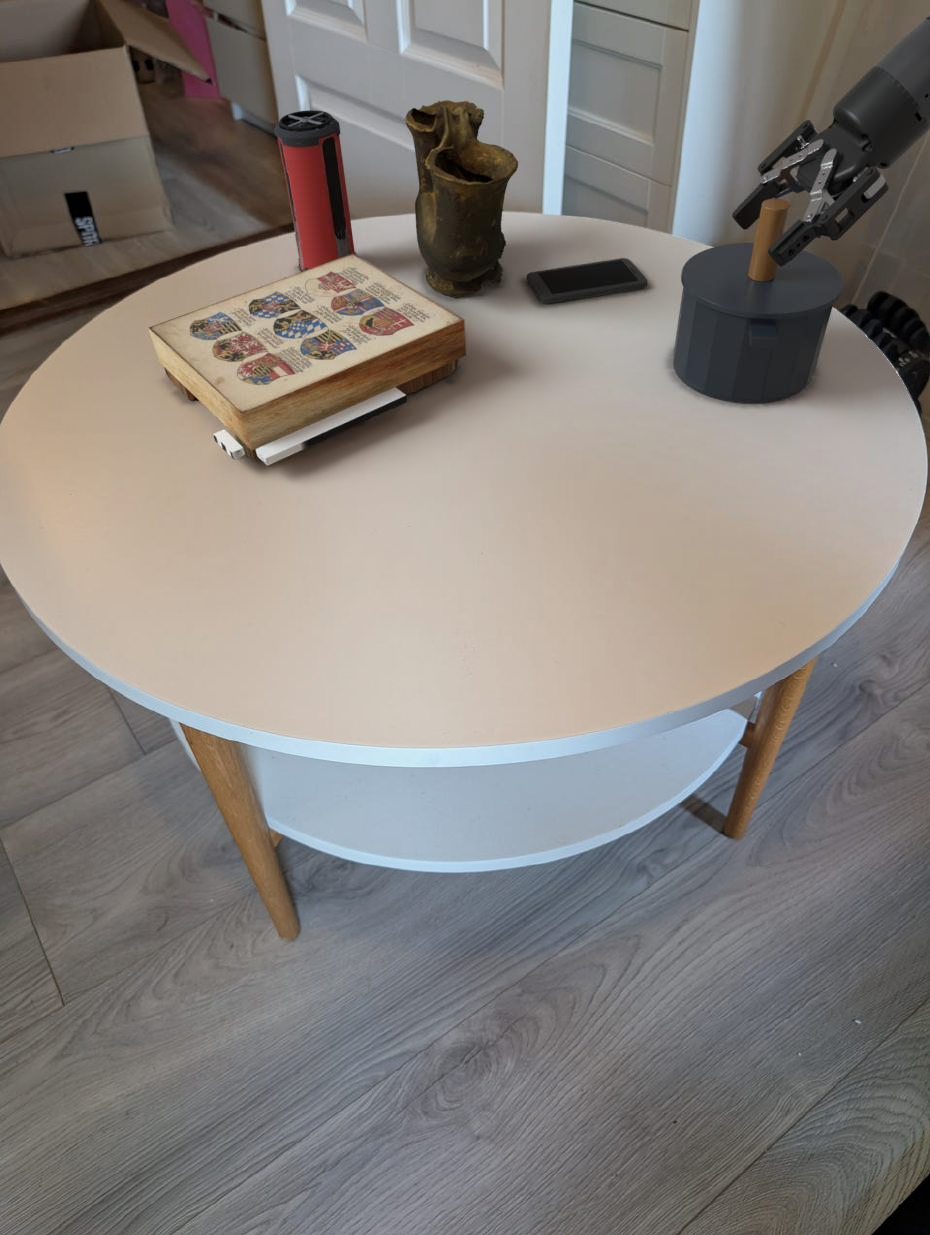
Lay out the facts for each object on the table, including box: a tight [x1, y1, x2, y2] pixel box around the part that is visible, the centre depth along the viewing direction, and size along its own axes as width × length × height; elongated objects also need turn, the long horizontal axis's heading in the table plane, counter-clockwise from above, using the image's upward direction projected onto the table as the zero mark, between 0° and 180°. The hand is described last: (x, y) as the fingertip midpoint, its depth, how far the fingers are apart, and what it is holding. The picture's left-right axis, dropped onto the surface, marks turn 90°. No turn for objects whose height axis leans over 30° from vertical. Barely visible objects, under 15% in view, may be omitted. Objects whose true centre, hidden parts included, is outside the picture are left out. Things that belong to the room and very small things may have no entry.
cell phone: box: [525, 257, 648, 304], centre depth 109 cm, size 7×14×1 cm, turn 104°
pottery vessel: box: [404, 100, 519, 298], centre depth 105 cm, size 25×11×20 cm, turn 12°
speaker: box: [273, 110, 357, 272], centre depth 109 cm, size 8×8×18 cm
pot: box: [672, 286, 834, 405], centre depth 91 cm, size 15×20×10 cm
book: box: [147, 253, 467, 466], centre depth 94 cm, size 25×6×28 cm
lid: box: [680, 198, 844, 319], centre depth 85 cm, size 16×16×8 cm
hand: (755, 241), depth 85 cm, fingers open, 8 cm apart
